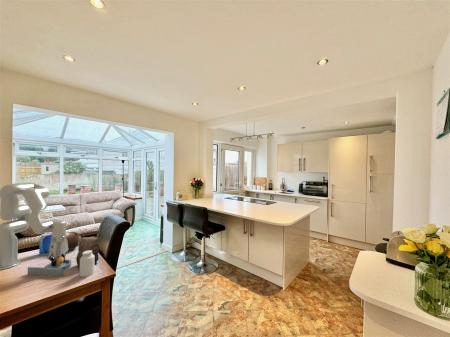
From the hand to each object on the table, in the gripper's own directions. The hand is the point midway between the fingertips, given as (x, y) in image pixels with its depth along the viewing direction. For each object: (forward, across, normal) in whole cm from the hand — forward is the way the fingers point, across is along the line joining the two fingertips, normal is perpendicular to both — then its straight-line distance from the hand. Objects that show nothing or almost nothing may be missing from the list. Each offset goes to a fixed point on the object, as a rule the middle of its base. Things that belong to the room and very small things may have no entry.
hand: (58, 263), depth 132 cm
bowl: (+3, 0, 0) cm, 3 cm away
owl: (+3, +4, -17) cm, 18 cm away
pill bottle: (+3, -5, -26) cm, 27 cm away
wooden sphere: (+3, +28, +18) cm, 33 cm away
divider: (+3, -9, 0) cm, 9 cm away
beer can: (+3, +19, +30) cm, 36 cm away
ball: (-2, 0, 0) cm, 2 cm away
